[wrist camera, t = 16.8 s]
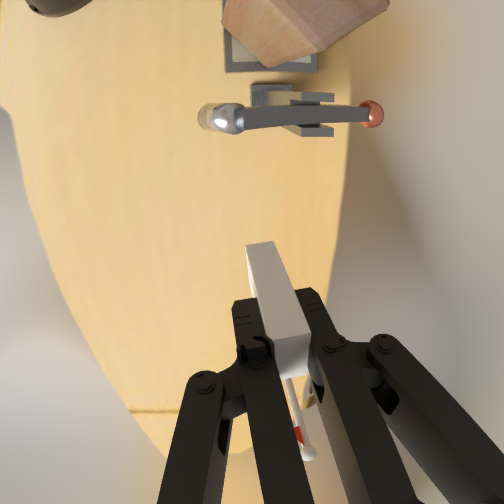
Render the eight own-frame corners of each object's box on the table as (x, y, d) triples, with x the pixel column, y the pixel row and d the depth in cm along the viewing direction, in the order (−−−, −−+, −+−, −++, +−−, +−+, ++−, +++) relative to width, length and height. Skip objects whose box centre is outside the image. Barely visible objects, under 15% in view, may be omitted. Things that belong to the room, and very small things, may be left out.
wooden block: (271, -14, 27) (321, -77, 10) (318, 33, 32) (398, 4, 15) (217, 23, 30) (228, -32, 13) (267, 71, 35) (320, 56, 18)
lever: (196, 100, 21) (233, 98, 17) (349, 97, 31) (389, 102, 27) (199, 137, 23) (235, 144, 19) (348, 121, 32) (388, 129, 28)
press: (221, -10, 28) (234, -72, 12) (308, -6, 30) (371, -50, 13) (227, 125, 40) (243, 150, 23) (312, 122, 41) (379, 148, 25)
